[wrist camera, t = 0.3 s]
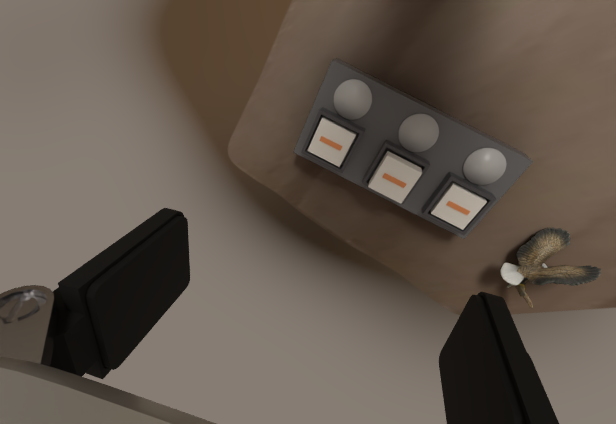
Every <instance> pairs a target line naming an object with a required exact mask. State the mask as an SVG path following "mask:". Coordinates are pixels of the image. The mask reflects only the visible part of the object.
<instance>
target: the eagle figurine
mask: <svg viewBox="0 0 616 424" xmlns="http://www.w3.org/2000/svg"><path fill="white" fill-rule="evenodd" d="M567 232H568V231H567V230H562V229H560V228H559V229H556V230H555V228H552V229H550V228H546V229H544V230H541V231H539V233H536V235H535V236H534V237H532V238H531V241H528V242H527V243H526V245H523V246H521V247H520V248H519V250H518V252H517V255H516V256H517V257H518V261H519V262H518V264H519V266H516V265H513V264H510V263H504V264H503V266H502V268H501V270H500V271H501V276H502V278H503V279H504V280H505V281H506V282H508V283H510V284H509V285H507V286H506V287H507V288H509V287H511V286H514V285H515V286H516V288H517V290H518V292H519V294H520V296H523V297H524V299H525V300H526V301H527V303H528V305H529V306H530V307H531V308H533V304H532V301H531V300H530V299H529V297H528V295H527V294H526V293H525V286H524V284H526V282H527V281H528V280H529V282H531V283H532V284H533V283H534V284H536V285H544V284H547V283H555V284H569V285H572V286H575V285H579V284H583V283H588V282H591V281H593V280H596V278H598V277H599V275H600V274H601V272H600V271H601V269H599V268H597V267H591V266H568V265H562V266H554V267H548V268H547V266H546V264H544V262H545V261H546V260H547V259H548V258H549V257H551V256H552V255H554V254H555V253H556V252H558V251H559V250H561V249H563V248H565V247H567V246H568V245H570V242H569V241H570V238H569V236H570V233H567Z"/></svg>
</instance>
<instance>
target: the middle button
mask: <svg viewBox="0 0 616 424" xmlns="http://www.w3.org/2000/svg"><path fill="white" fill-rule="evenodd" d="M421 174H422V169H421V168H420V167H418V166H416V165H414V164H412V163H411V162H409V161H407V160H405V159H403V158H401V157H399V156H397V155H395V154H393V153H391V152H389V151H387V153H386V154H385V156H384V158H383V159H382V161H381V163H380V164H379V166H378V168H377V169H376V171H375V173H374V174H373V176H372V178H371V179H370V181H369V185H368V187H369V188H371V189H373V190H375V191H377V192H379V193H381V194H383V195H385V196H387V197H389V198H391V199H393V200H395V201H397V202H399V203H402V202H403V200H404V199H405V198H406V196H407V195H408V193H409V192H410V190H411V189H412V187H413V186H414V185H415V183H416V182H417V180H418V179H419V177H420V176H421Z"/></svg>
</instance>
